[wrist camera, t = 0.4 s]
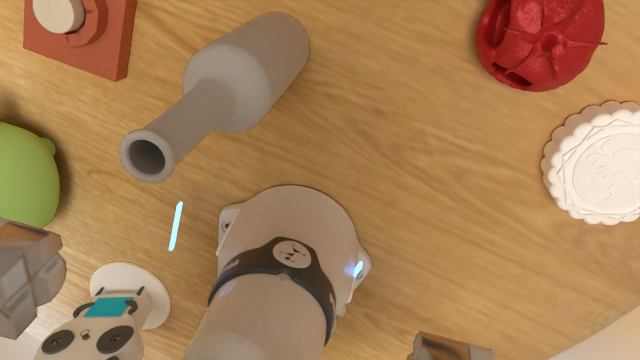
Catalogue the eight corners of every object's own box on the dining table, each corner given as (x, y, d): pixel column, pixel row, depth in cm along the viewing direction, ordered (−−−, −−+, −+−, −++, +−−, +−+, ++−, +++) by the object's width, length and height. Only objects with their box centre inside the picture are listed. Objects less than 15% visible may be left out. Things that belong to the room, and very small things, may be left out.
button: (83, 36, 46) (72, 39, 45) (43, 22, 46) (31, 24, 45) (87, -6, 44) (75, -4, 43) (45, -21, 44) (33, -20, 43)
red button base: (126, 77, 51) (106, 86, 48) (37, 44, 51) (10, 51, 48) (142, -41, 46) (120, -40, 42) (42, -78, 46) (12, -80, 42)
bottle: (274, -4, 46) (126, 60, 21) (323, 47, 47) (240, 164, 22) (231, 46, 48) (54, 155, 23) (279, 92, 50) (160, 242, 25)
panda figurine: (162, 260, 62) (97, 347, 48) (184, 328, 66) (131, 425, 53) (79, 262, 64) (-5, 346, 51) (106, 328, 69) (36, 421, 55)
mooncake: (627, 73, 44) (645, 83, 41) (697, 163, 47) (719, 179, 43) (514, 153, 49) (522, 168, 46) (583, 231, 52) (596, 250, 48)
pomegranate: (578, -53, 40) (624, -53, 32) (595, 60, 44) (640, 87, 36) (459, -10, 43) (473, 1, 35) (484, 94, 47) (502, 126, 38)
